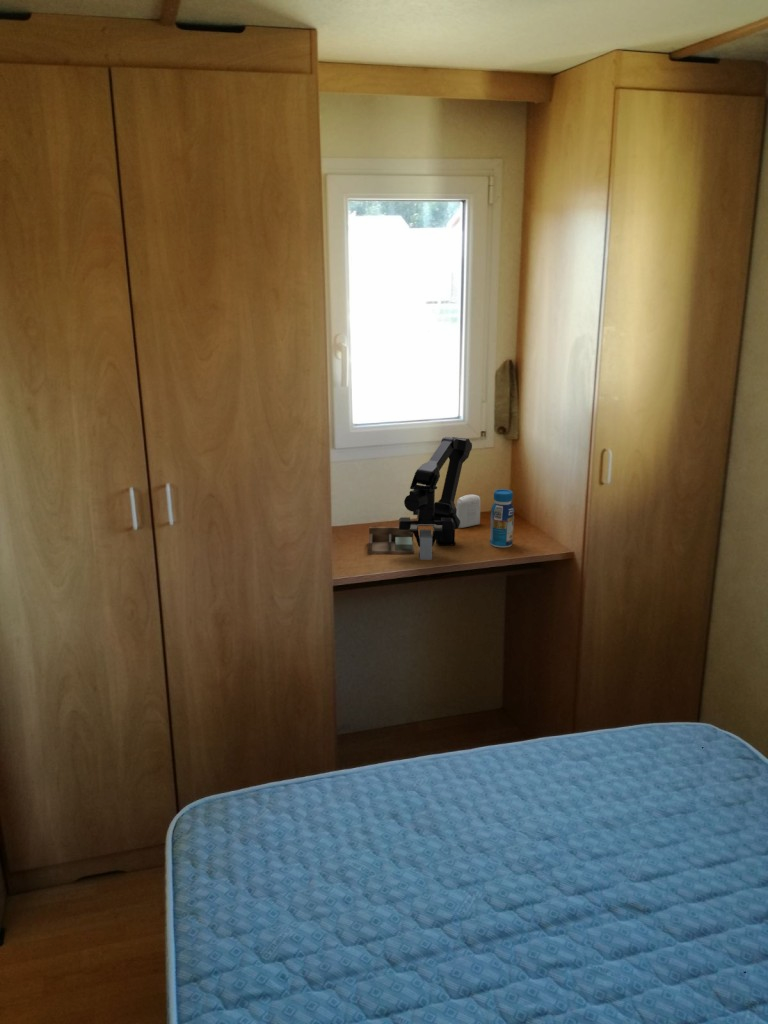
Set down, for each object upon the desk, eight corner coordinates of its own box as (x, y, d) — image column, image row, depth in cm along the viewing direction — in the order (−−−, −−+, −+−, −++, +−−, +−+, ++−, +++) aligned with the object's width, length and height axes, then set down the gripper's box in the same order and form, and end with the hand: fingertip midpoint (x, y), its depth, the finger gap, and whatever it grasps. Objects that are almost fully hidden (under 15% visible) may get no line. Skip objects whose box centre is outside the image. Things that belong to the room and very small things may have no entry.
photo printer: (474, 521, 311) (475, 491, 307) (481, 524, 308) (482, 494, 304) (454, 526, 306) (454, 495, 302) (460, 529, 302) (461, 498, 299)
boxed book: (430, 550, 280) (430, 529, 277) (431, 559, 271) (432, 537, 269) (419, 550, 280) (419, 529, 277) (420, 559, 271) (420, 537, 269)
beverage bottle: (485, 541, 288) (487, 489, 282) (506, 539, 291) (508, 487, 285) (495, 549, 280) (497, 495, 275) (516, 546, 283) (519, 493, 277)
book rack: (413, 542, 288) (413, 526, 286) (413, 553, 276) (414, 537, 274) (369, 542, 288) (369, 526, 286) (368, 553, 276) (368, 537, 275)
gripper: (451, 497, 277) (450, 539, 282) (398, 497, 277) (398, 539, 282) (454, 506, 267) (453, 549, 271) (399, 506, 267) (399, 549, 271)
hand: (425, 546), depth 274 cm, fingers open, 4 cm apart
